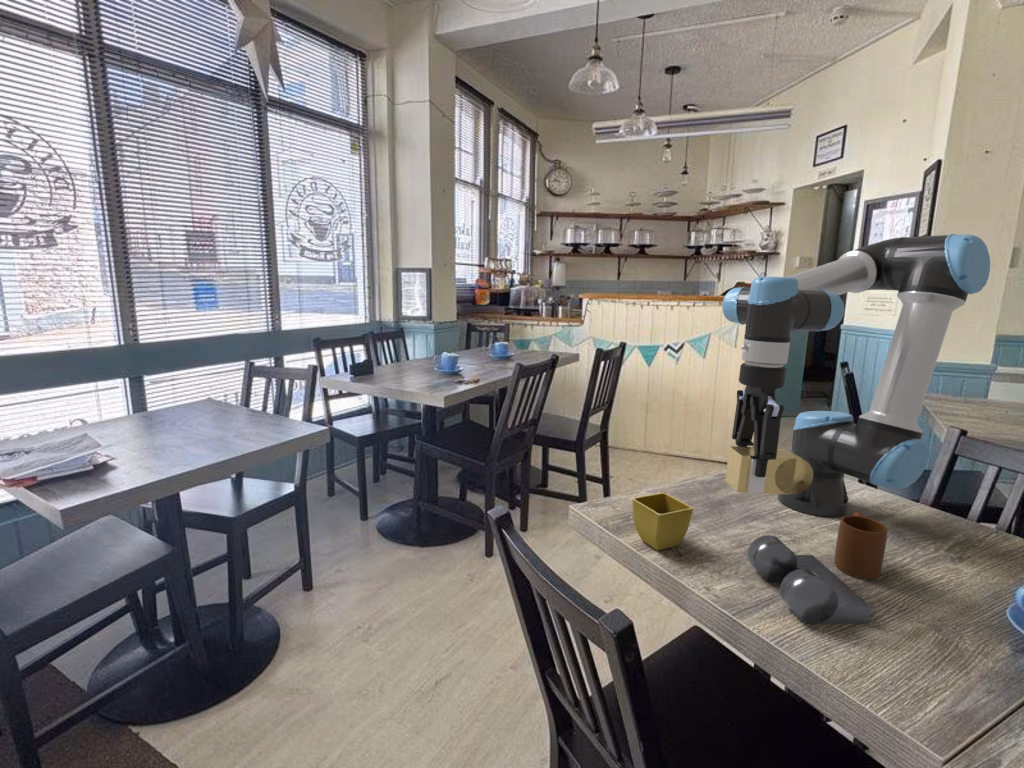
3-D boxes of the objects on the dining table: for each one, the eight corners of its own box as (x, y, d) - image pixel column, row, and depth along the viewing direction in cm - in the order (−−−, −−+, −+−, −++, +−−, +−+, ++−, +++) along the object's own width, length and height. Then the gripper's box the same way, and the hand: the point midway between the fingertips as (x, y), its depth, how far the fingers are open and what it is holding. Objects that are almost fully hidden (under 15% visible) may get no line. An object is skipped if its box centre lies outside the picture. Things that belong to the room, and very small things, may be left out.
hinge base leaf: (810, 569, 101) (815, 535, 100) (868, 623, 86) (874, 583, 84) (745, 569, 101) (749, 535, 100) (791, 623, 85) (797, 583, 84)
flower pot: (661, 530, 116) (664, 491, 114) (690, 549, 108) (694, 507, 107) (628, 538, 112) (631, 498, 111) (656, 558, 105) (659, 515, 103)
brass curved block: (794, 483, 104) (799, 449, 102) (810, 495, 98) (816, 458, 97) (725, 480, 104) (729, 446, 102) (737, 492, 98) (742, 455, 97)
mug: (829, 546, 111) (836, 503, 109) (873, 554, 107) (880, 511, 106) (835, 574, 100) (842, 527, 98) (883, 584, 97) (892, 536, 95)
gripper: (722, 355, 106) (709, 467, 110) (767, 371, 87) (749, 505, 92) (760, 357, 106) (746, 469, 110) (812, 373, 87) (793, 506, 92)
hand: (747, 485), depth 101 cm, fingers closed on brass curved block, 6 cm apart
